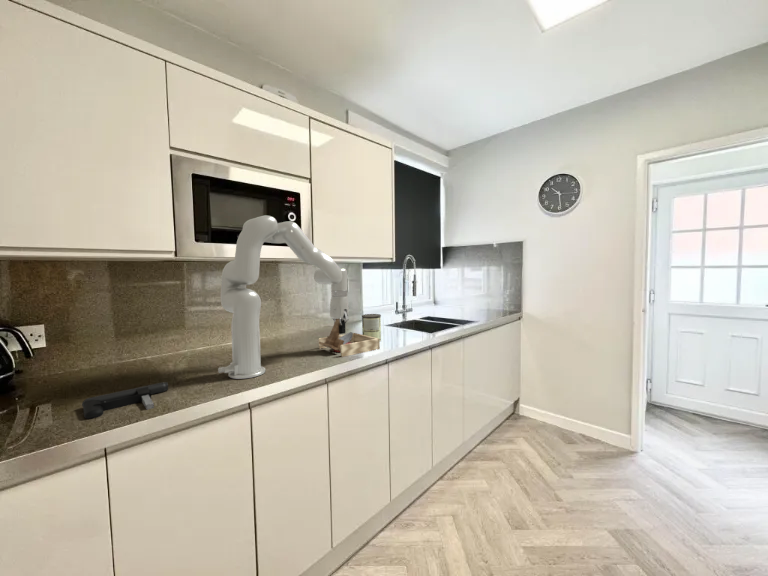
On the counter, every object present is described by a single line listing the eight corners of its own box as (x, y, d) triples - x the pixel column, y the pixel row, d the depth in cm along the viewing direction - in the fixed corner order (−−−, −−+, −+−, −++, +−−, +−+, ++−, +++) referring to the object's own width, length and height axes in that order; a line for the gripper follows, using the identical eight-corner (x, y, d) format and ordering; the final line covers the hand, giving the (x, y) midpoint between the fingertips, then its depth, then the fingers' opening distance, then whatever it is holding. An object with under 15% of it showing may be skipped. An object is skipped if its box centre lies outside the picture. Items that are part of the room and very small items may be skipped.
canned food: (351, 361, 151) (351, 345, 146) (331, 358, 152) (329, 342, 147) (357, 345, 160) (357, 329, 155) (338, 343, 162) (337, 327, 157)
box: (342, 356, 141) (342, 345, 140) (318, 348, 157) (318, 338, 157) (379, 348, 154) (379, 338, 154) (354, 342, 171) (354, 332, 170)
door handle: (178, 394, 93) (165, 379, 104) (84, 417, 79) (81, 396, 90) (178, 405, 93) (165, 389, 105) (84, 430, 79) (82, 408, 91)
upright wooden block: (331, 347, 142) (343, 318, 146) (318, 343, 152) (330, 316, 155) (340, 351, 145) (351, 322, 149) (326, 347, 155) (338, 320, 158)
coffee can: (358, 340, 175) (358, 314, 174) (374, 338, 181) (374, 313, 180) (368, 343, 166) (368, 316, 166) (385, 341, 172) (384, 315, 171)
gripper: (323, 294, 155) (324, 331, 156) (341, 295, 143) (342, 336, 144) (337, 293, 160) (337, 329, 161) (355, 294, 148) (356, 334, 148)
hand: (340, 332), depth 152 cm, fingers closed on upright wooden block, 3 cm apart
